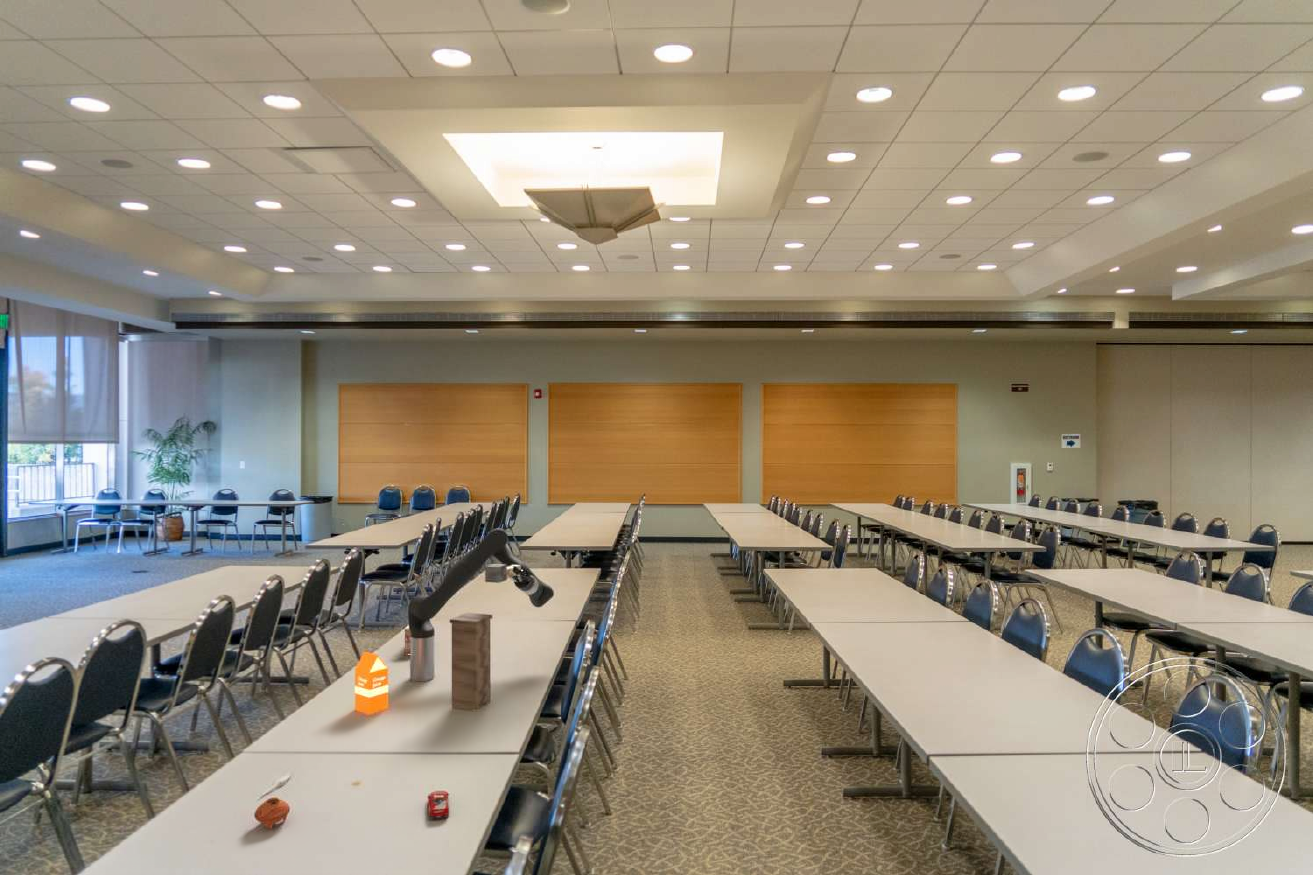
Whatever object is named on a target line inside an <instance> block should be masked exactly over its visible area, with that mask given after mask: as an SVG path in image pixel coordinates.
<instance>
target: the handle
mask: <svg viewBox="0 0 1313 875" xmlns="http://www.w3.org/2000/svg"><path fill="white" fill-rule="evenodd" d="M513 566H516V567H517V568H518V569H521V565H511V566H508V567H507V565H505V564H502V563H501V564H499V563H492V564H488V565H485V566H484V582H485V583H498V584H499V583H502V582H505V581H507V580H508V579H510V577H513V576H516V575H517V574H515V573H514V572H513Z"/></svg>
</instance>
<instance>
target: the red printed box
mask: <svg viewBox="0 0 1313 875" xmlns="http://www.w3.org/2000/svg"><path fill="white" fill-rule="evenodd" d="M405 654H406V655H408V654H411V632H410V630H409V624H408V625H407V626H406V627H405V628H404V655H405ZM408 656H409V655H408Z"/></svg>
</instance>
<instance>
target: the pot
mask: <svg viewBox="0 0 1313 875" xmlns="http://www.w3.org/2000/svg"><path fill="white" fill-rule="evenodd" d="M290 810H291V807H290V805H289V804H288V803H287V802H286V801H284V800H283V799H280V798H279V797H270V798H267V800H265V801H264V802H263V803H261V804H260V805H259V806H258V807H257V808H256V809H255V812H254V815H253V817H254V818H255V820H256V821H257V822H259V823H261V824H264V825H266V828H267V830H272V828H273V827H272V826H273V824H277V823H279V822H281V821H283V822H286V820H287V817H288V814H290Z"/></svg>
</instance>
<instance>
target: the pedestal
mask: <svg viewBox="0 0 1313 875" xmlns="http://www.w3.org/2000/svg"><path fill="white" fill-rule="evenodd" d="M492 619H493V614H485V613H472V612H465V613H463V614H460V615H457V616H455V617H453V618H450V619H449V623H450V624H451V709H454V710H462V711H470V710H475V711H474V712H477V711H479V710H481V709H482V708H484V707H485V706H487V705H488V704H490V703H491V702H492V701H491V696H492V695H491V694H492V693H491V684H492V683H491V620H492ZM487 703H488V704H487ZM486 704H487V705H486ZM483 706H484V707H483Z"/></svg>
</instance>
